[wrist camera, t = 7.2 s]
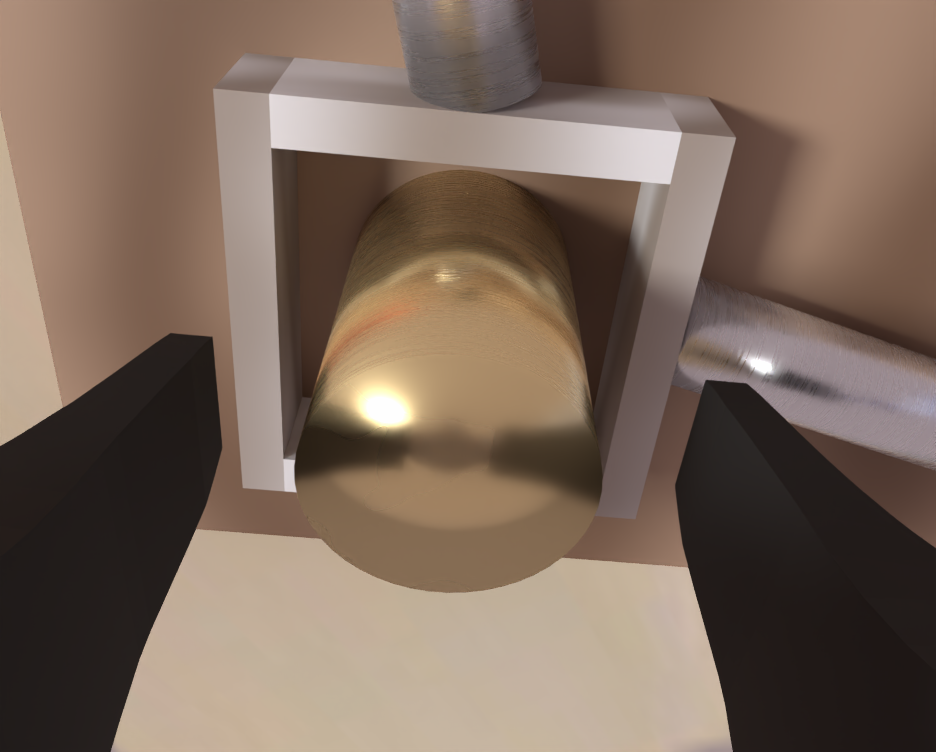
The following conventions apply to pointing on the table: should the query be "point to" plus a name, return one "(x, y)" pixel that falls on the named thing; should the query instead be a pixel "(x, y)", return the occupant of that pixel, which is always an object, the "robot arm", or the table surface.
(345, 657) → the table surface
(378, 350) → the brass cylinder
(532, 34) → the shaft
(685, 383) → the shaft
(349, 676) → the table surface
